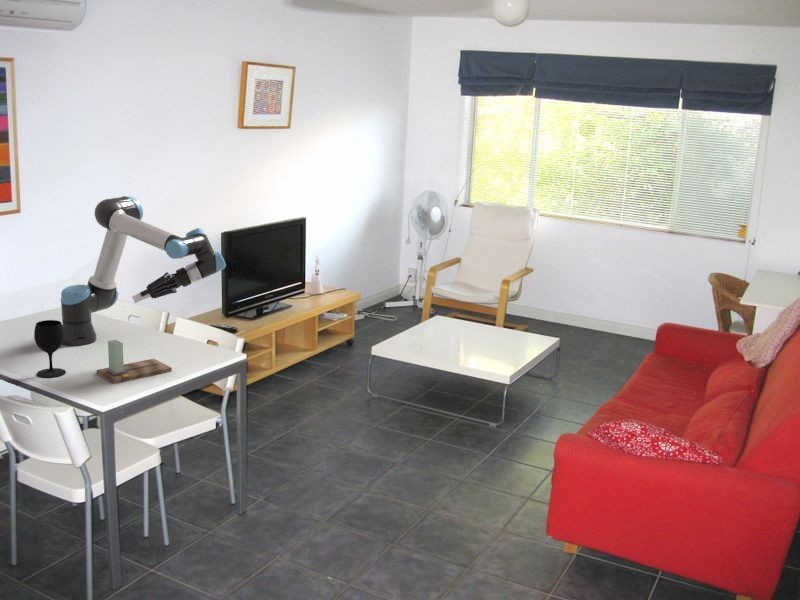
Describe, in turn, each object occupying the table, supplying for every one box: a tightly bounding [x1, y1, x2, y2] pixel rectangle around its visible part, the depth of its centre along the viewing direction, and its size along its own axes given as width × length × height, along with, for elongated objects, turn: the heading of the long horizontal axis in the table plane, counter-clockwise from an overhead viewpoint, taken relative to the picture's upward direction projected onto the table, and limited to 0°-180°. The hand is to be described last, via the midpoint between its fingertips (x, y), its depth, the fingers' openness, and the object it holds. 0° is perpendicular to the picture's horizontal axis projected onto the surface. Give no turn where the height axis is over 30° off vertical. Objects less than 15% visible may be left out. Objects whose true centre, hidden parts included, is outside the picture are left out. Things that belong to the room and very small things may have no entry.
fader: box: [105, 339, 127, 375], centre depth 316 cm, size 5×7×12 cm
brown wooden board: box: [96, 358, 173, 385], centre depth 323 cm, size 24×14×2 cm, turn 134°
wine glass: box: [33, 319, 67, 379], centre depth 315 cm, size 10×10×20 cm
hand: (133, 299), depth 333 cm, fingers closed
